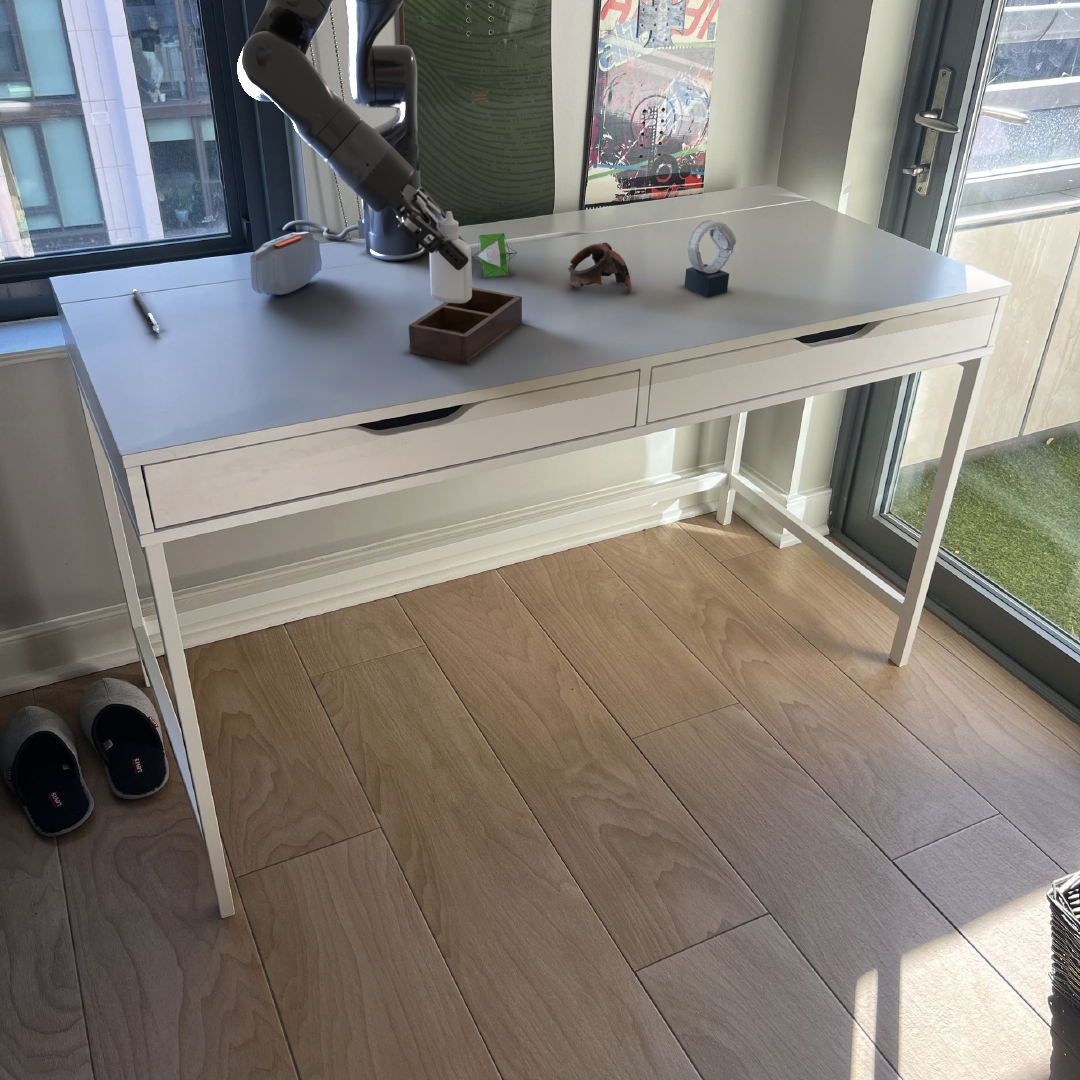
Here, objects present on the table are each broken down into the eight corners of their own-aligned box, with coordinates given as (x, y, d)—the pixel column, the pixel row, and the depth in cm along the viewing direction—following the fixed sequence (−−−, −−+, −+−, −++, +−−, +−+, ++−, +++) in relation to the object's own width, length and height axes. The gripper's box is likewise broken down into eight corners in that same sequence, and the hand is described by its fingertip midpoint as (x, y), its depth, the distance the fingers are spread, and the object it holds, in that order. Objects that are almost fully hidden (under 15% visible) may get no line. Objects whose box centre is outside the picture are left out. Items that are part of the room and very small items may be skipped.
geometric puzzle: (465, 253, 179) (472, 223, 172) (504, 249, 181) (512, 220, 174) (475, 289, 177) (482, 261, 170) (514, 285, 179) (523, 257, 171)
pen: (155, 334, 153) (153, 327, 152) (131, 292, 167) (130, 285, 166) (161, 333, 153) (160, 326, 153) (137, 291, 167) (136, 285, 167)
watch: (736, 290, 172) (744, 222, 166) (699, 299, 168) (706, 230, 162) (712, 280, 176) (719, 213, 170) (675, 289, 172) (681, 221, 166)
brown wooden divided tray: (409, 353, 149) (408, 325, 147) (468, 312, 162) (467, 286, 160) (467, 364, 146) (466, 336, 144) (522, 322, 159) (522, 296, 157)
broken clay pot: (636, 303, 168) (614, 262, 163) (582, 323, 171) (559, 284, 166) (636, 260, 176) (616, 220, 171) (585, 280, 179) (563, 242, 174)
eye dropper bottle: (449, 308, 144) (447, 219, 138) (427, 296, 148) (423, 209, 141) (476, 301, 146) (474, 214, 140) (453, 289, 150) (450, 204, 143)
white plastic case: (312, 273, 176) (307, 225, 172) (326, 277, 175) (321, 228, 170) (251, 300, 165) (244, 249, 161) (266, 303, 164) (259, 253, 160)
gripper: (382, 158, 130) (482, 257, 137) (395, 132, 142) (486, 225, 149) (342, 201, 133) (442, 296, 139) (358, 172, 145) (450, 261, 151)
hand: (464, 259), depth 144 cm, fingers closed on eye dropper bottle, 4 cm apart
